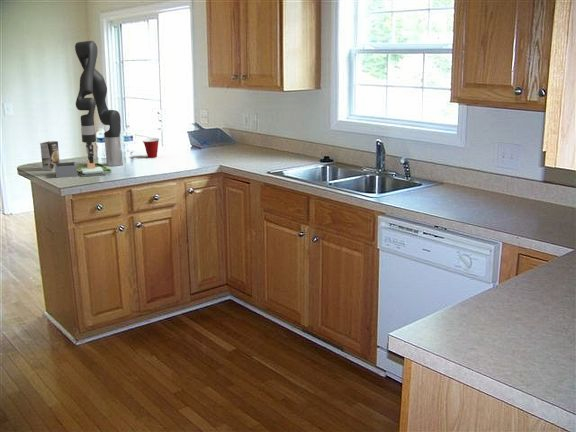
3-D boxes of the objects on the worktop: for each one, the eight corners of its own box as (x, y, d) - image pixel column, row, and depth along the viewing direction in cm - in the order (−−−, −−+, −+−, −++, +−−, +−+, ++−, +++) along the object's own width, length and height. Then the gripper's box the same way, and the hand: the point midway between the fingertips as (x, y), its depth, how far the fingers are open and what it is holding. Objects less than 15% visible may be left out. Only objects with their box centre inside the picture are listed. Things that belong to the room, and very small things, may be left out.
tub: (75, 172, 355) (74, 161, 354) (77, 176, 344) (76, 165, 342) (55, 173, 351) (54, 163, 350) (56, 177, 340) (55, 167, 338)
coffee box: (52, 170, 360) (49, 143, 355) (42, 170, 361) (39, 143, 357) (61, 168, 368) (58, 141, 364) (51, 167, 370) (48, 140, 365)
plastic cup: (142, 156, 406) (140, 138, 403) (158, 155, 410) (157, 137, 407) (145, 159, 396) (144, 140, 393) (162, 158, 400) (160, 139, 397)
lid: (101, 169, 359) (100, 158, 357) (103, 173, 347) (102, 161, 345) (81, 171, 355) (80, 159, 353) (83, 175, 343) (81, 163, 341)
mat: (102, 170, 360) (102, 169, 360) (105, 175, 346) (105, 174, 346) (79, 172, 355) (79, 171, 355) (81, 176, 342) (81, 175, 341)
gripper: (96, 134, 343) (99, 163, 347) (94, 131, 356) (96, 159, 360) (82, 135, 340) (85, 164, 344) (80, 132, 353) (83, 160, 357)
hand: (91, 161), depth 352 cm, fingers open, 8 cm apart
